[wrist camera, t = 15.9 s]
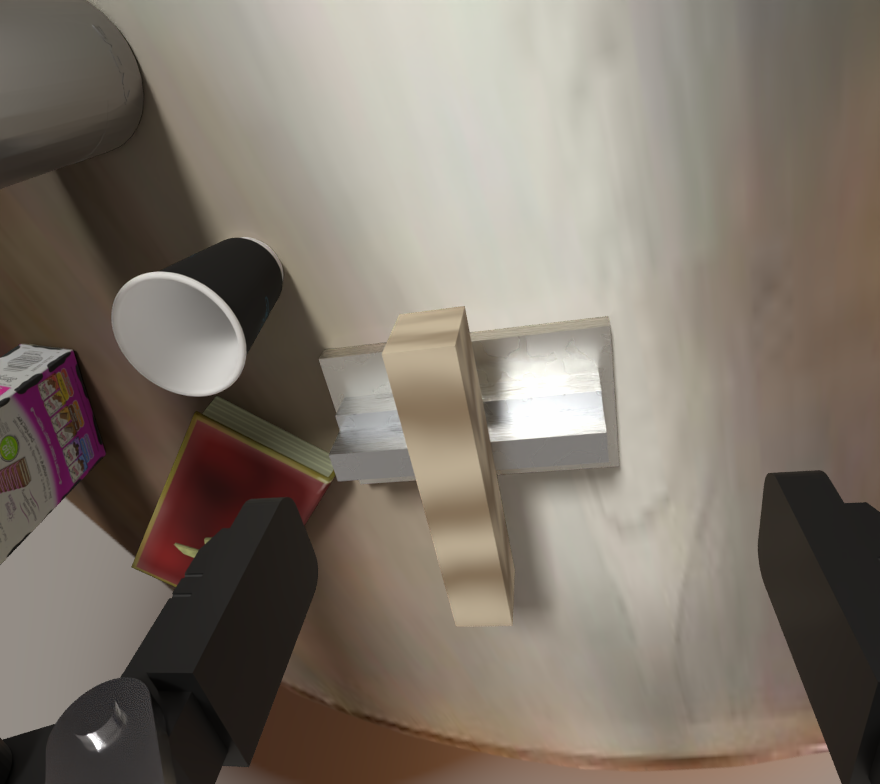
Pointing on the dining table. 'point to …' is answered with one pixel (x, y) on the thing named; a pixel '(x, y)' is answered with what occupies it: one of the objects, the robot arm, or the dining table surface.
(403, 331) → the beech batten
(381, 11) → the dining table surface
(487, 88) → the dining table surface
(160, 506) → the hardcover book
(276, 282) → the dixie cup
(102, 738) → the robot arm
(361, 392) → the ridge
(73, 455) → the candy bar box
